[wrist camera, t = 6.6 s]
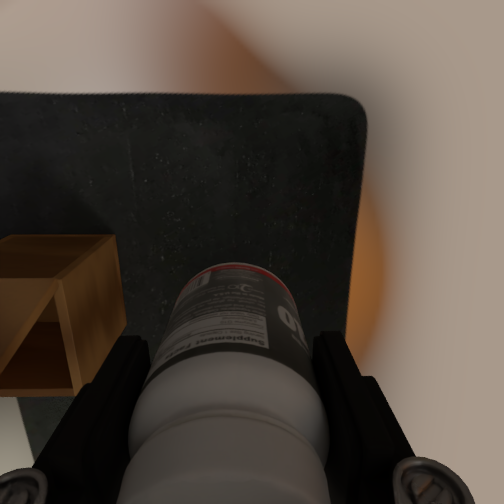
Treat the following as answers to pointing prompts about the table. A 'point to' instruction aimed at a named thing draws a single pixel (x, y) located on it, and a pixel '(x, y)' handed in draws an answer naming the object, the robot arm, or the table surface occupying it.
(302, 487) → the pill bottle
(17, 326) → the lid
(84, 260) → the chest
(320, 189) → the table surface
